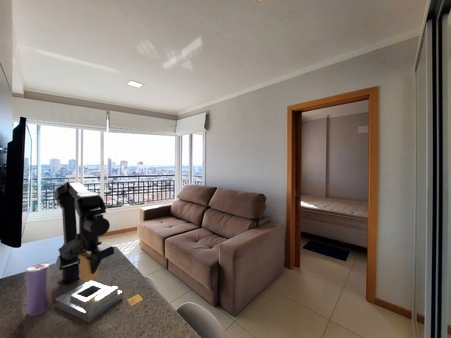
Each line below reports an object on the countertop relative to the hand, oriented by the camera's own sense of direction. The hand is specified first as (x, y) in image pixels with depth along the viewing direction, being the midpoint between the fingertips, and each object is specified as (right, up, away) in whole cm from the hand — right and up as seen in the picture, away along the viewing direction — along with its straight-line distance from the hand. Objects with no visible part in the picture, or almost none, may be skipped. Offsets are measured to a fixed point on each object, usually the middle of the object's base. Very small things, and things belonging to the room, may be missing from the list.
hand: (89, 272), depth 69 cm
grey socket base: (0, -11, 0) cm, 11 cm away
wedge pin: (0, -2, 0) cm, 2 cm away
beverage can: (-15, -11, -4) cm, 19 cm away
